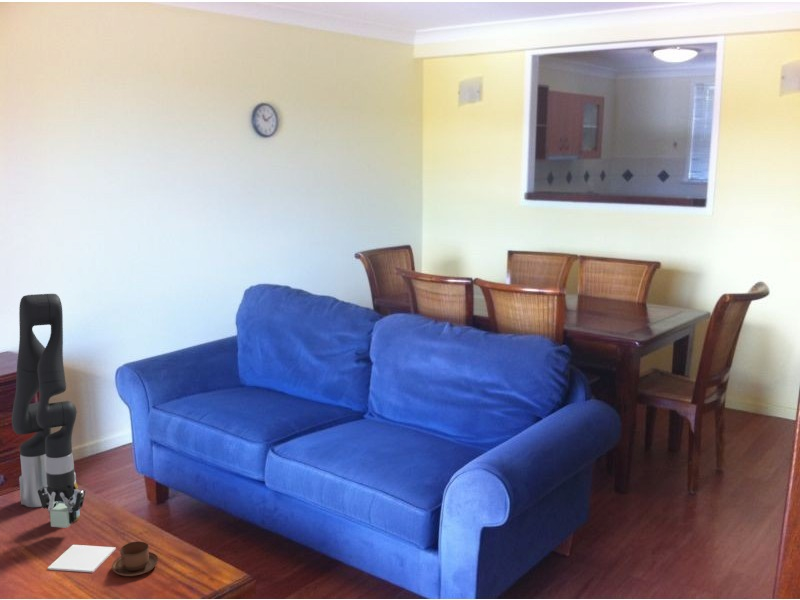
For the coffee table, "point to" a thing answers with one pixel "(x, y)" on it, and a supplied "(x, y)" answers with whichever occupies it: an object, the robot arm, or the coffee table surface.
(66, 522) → the sage cube
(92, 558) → the mat
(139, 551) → the cup and saucer
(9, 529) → the coffee table surface
